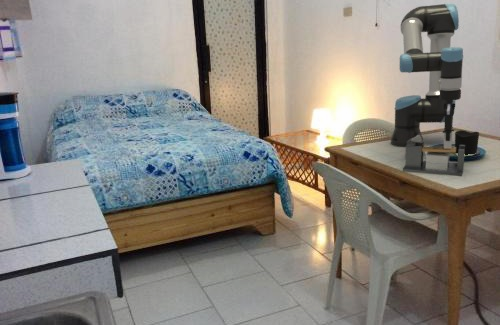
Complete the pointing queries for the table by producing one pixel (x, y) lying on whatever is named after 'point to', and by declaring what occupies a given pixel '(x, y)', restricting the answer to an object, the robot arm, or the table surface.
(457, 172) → the base
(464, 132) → the pen holder
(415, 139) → the electrical switch
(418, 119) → the robot arm
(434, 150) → the strap
